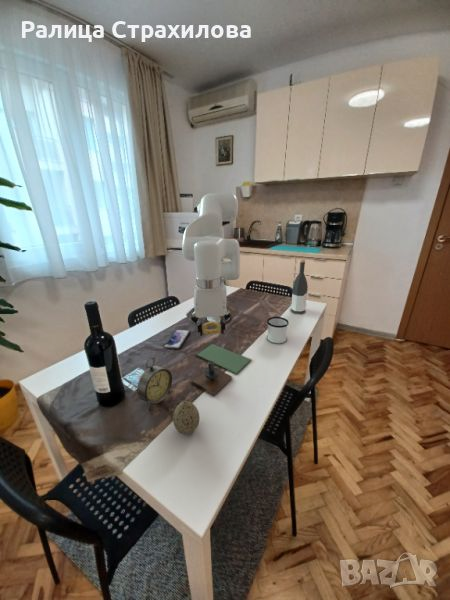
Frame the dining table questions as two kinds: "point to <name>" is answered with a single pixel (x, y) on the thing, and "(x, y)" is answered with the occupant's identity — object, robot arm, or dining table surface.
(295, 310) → the wine bottle
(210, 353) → the mat
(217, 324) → the ring
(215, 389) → the stand
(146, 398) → the alarm clock
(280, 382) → the dining table surface
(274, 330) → the mug
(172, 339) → the smartphone
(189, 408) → the decorative egg
